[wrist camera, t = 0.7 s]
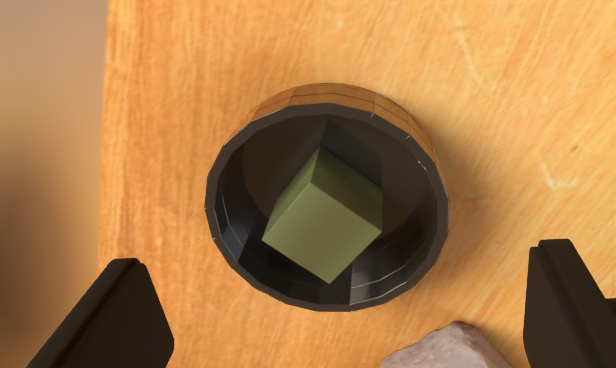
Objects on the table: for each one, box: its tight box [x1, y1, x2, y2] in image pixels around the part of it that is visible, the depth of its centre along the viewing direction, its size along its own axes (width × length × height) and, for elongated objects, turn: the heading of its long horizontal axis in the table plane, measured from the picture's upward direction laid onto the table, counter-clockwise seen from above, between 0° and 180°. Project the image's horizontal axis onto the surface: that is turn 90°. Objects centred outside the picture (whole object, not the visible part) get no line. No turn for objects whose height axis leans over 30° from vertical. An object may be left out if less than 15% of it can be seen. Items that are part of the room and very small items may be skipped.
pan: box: [204, 83, 449, 312], centre depth 27 cm, size 13×13×4 cm
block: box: [262, 146, 382, 284], centre depth 26 cm, size 4×4×4 cm
